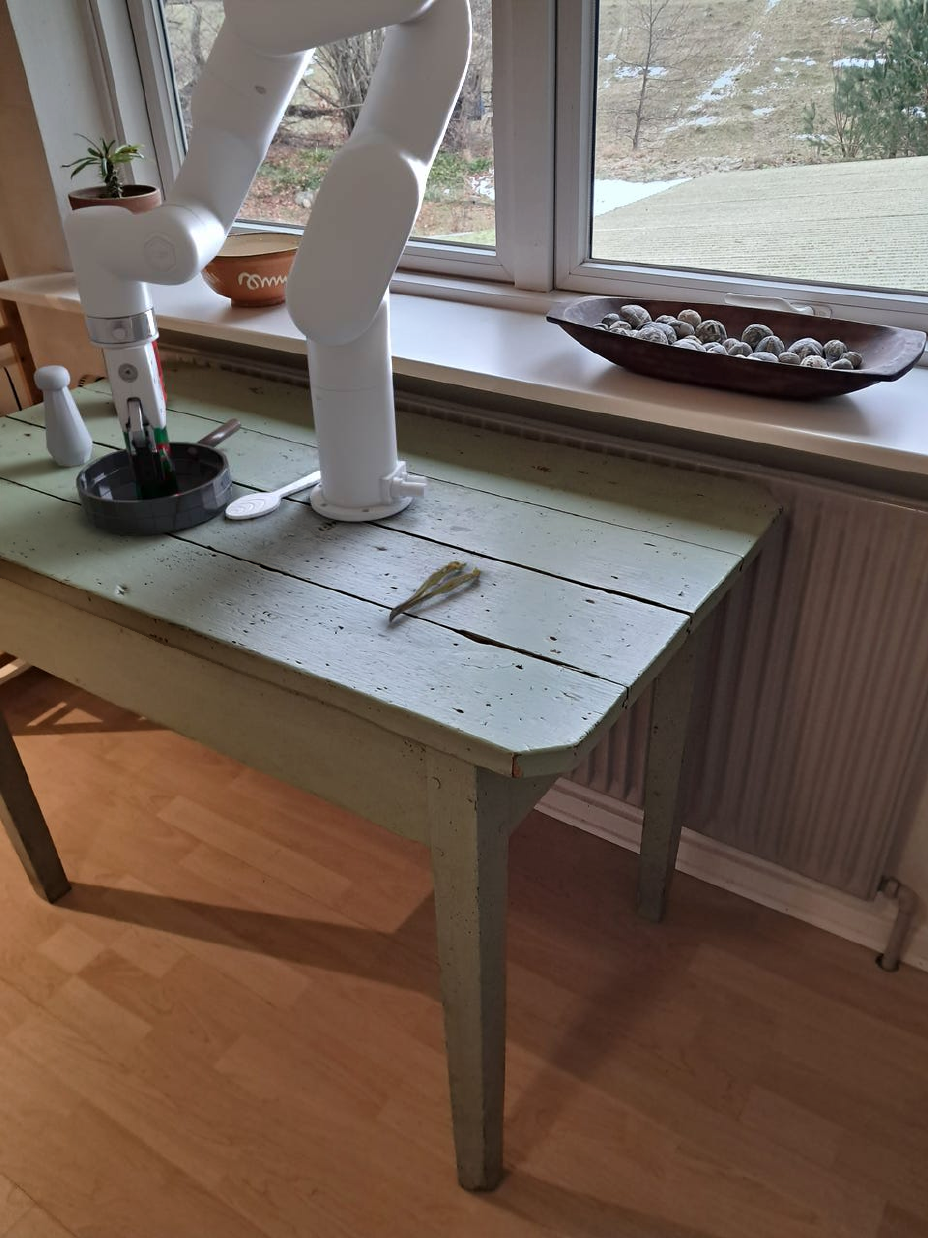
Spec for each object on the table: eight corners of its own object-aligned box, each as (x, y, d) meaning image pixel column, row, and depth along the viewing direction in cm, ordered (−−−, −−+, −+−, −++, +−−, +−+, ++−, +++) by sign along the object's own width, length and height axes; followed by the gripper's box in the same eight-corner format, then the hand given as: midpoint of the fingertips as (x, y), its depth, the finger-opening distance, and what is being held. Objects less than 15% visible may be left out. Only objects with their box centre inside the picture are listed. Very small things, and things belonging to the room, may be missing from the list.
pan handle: (244, 429, 134) (242, 417, 133) (197, 462, 125) (195, 449, 124) (232, 428, 135) (230, 415, 134) (186, 460, 126) (183, 447, 125)
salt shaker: (103, 453, 134) (80, 361, 127) (85, 469, 130) (61, 375, 123) (63, 452, 135) (38, 360, 128) (44, 469, 130) (17, 375, 123)
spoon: (352, 474, 126) (352, 470, 126) (243, 524, 115) (242, 520, 114) (324, 464, 129) (324, 460, 129) (215, 511, 118) (214, 507, 117)
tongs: (380, 619, 96) (379, 602, 95) (455, 570, 106) (455, 554, 104) (413, 632, 94) (413, 614, 93) (487, 581, 103) (487, 564, 102)
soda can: (138, 495, 122) (117, 404, 115) (179, 489, 123) (161, 399, 116) (139, 512, 118) (118, 418, 111) (181, 506, 119) (163, 413, 112)
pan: (259, 482, 125) (254, 450, 122) (181, 546, 111) (174, 510, 108) (142, 466, 130) (135, 435, 128) (53, 525, 116) (43, 491, 113)
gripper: (156, 344, 102) (184, 494, 112) (156, 303, 116) (182, 439, 126) (81, 351, 101) (117, 502, 110) (91, 309, 115) (122, 446, 124)
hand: (151, 468), depth 118 cm, fingers open, 8 cm apart
